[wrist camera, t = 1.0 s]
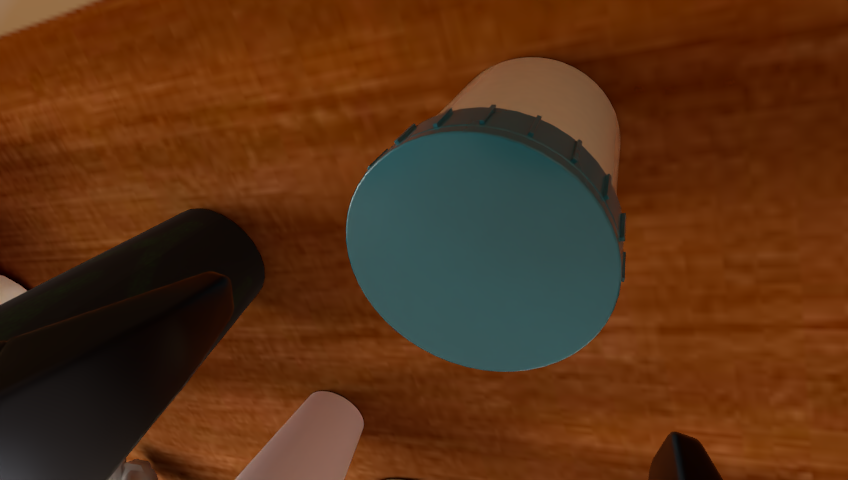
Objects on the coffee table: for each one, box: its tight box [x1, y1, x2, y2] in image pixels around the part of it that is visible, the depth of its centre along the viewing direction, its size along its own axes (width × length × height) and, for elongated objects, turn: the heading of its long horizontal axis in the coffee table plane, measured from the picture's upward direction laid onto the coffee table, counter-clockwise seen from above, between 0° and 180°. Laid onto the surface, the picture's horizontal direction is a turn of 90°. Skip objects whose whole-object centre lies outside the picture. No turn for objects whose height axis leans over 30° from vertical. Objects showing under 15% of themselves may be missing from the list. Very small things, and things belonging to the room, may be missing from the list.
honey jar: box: [438, 57, 620, 193], centre depth 15 cm, size 6×6×7 cm
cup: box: [0, 209, 265, 480], centre depth 22 cm, size 8×8×12 cm
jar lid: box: [346, 105, 626, 372], centre depth 13 cm, size 7×7×2 cm
